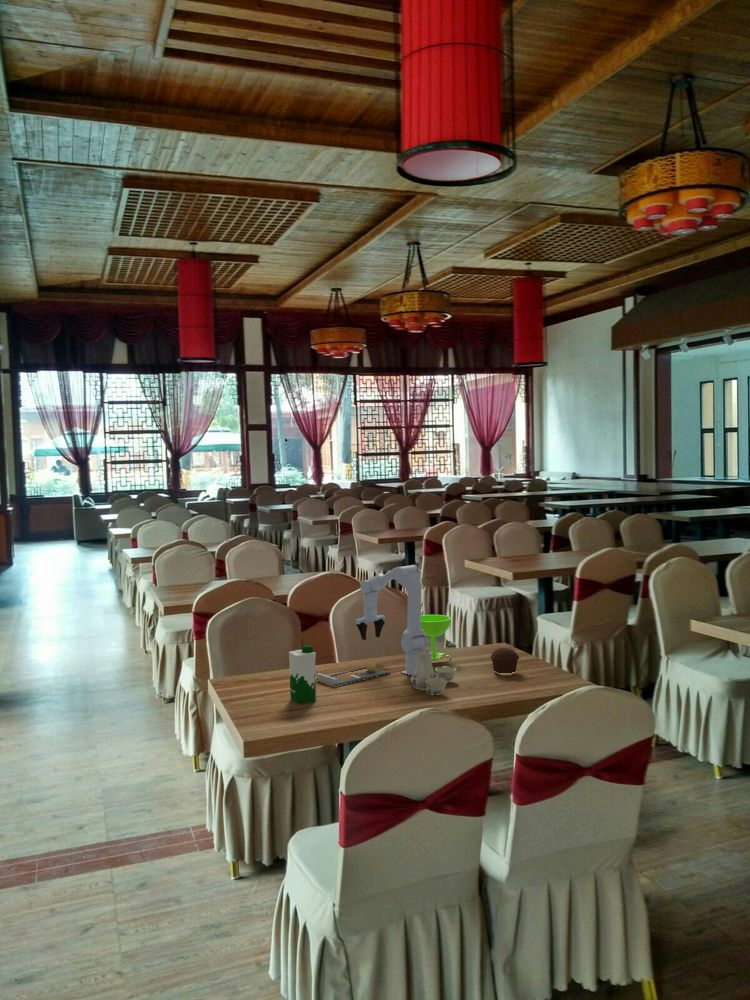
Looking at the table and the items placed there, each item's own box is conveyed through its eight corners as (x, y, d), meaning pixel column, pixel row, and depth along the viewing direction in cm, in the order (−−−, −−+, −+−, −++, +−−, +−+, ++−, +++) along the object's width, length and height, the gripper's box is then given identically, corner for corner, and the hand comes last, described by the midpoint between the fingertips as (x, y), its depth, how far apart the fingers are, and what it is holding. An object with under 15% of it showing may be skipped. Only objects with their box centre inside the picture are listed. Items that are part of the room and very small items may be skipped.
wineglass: (409, 656, 360) (409, 616, 360) (443, 653, 365) (442, 613, 364) (422, 665, 345) (422, 623, 344) (457, 661, 350) (456, 620, 349)
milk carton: (319, 701, 295) (318, 647, 294) (296, 705, 291) (294, 650, 290) (309, 695, 303) (308, 642, 302) (287, 699, 299) (285, 645, 298)
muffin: (484, 673, 330) (484, 648, 330) (502, 668, 338) (501, 644, 337) (508, 678, 322) (507, 653, 321) (525, 673, 329) (525, 648, 329)
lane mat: (390, 674, 332) (389, 666, 331) (335, 687, 314) (334, 679, 314) (371, 668, 341) (371, 661, 341) (317, 681, 323) (316, 673, 323)
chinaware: (448, 703, 296) (452, 659, 294) (403, 697, 299) (407, 652, 298) (456, 682, 323) (460, 641, 322) (415, 677, 326) (418, 636, 325)
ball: (378, 672, 333) (377, 662, 332) (370, 673, 330) (370, 664, 330) (372, 670, 336) (371, 660, 336) (364, 671, 333) (364, 662, 333)
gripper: (377, 604, 360) (378, 634, 360) (351, 608, 351) (351, 639, 351) (387, 606, 354) (388, 636, 355) (361, 610, 345) (361, 642, 346)
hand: (370, 638), depth 353 cm, fingers open, 7 cm apart
